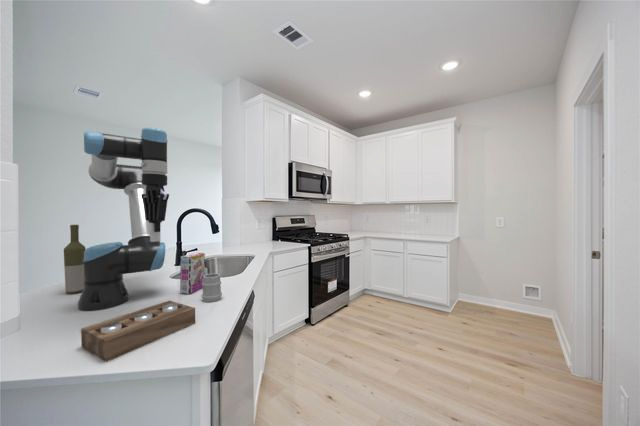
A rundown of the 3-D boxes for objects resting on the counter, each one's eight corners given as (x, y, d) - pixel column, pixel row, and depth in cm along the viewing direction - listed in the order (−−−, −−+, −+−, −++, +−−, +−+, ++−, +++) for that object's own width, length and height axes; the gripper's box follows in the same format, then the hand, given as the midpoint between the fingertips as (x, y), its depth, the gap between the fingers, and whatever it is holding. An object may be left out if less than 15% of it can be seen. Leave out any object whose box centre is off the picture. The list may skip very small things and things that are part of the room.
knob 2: (131, 333, 76) (131, 316, 76) (147, 327, 80) (147, 311, 80) (139, 337, 74) (139, 320, 74) (155, 330, 78) (155, 314, 78)
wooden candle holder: (81, 346, 70) (81, 328, 69) (169, 314, 91) (169, 300, 90) (106, 361, 63) (105, 341, 63) (195, 323, 84) (195, 307, 84)
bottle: (63, 292, 114) (62, 224, 113) (84, 288, 119) (83, 224, 119) (65, 296, 109) (64, 225, 109) (87, 292, 115) (86, 224, 114)
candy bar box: (190, 294, 111) (190, 257, 111) (179, 294, 112) (179, 256, 112) (205, 287, 122) (205, 252, 122) (195, 286, 123) (195, 252, 123)
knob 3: (159, 323, 83) (159, 307, 83) (172, 317, 87) (172, 303, 87) (167, 326, 81) (167, 310, 81) (181, 320, 85) (181, 305, 85)
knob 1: (97, 346, 69) (97, 327, 69) (117, 339, 73) (117, 321, 73) (105, 351, 67) (105, 331, 67) (125, 343, 71) (125, 325, 70)
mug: (206, 304, 101) (206, 273, 100) (194, 297, 108) (194, 268, 108) (225, 299, 106) (225, 270, 106) (212, 292, 114) (211, 265, 114)
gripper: (132, 173, 90) (133, 241, 91) (154, 171, 84) (154, 244, 84) (155, 176, 96) (155, 238, 97) (176, 174, 90) (176, 241, 91)
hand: (155, 241), depth 91 cm, fingers closed
